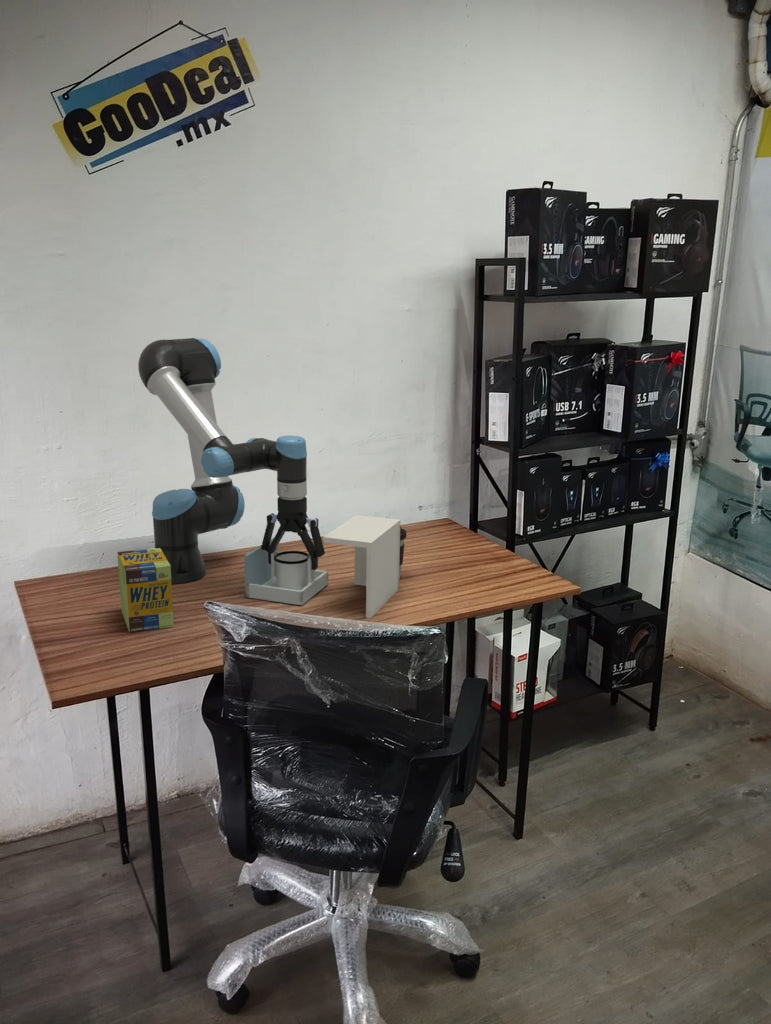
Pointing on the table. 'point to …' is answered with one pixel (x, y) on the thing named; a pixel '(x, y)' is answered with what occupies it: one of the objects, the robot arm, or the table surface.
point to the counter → (372, 556)
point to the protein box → (145, 589)
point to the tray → (265, 585)
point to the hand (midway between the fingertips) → (293, 578)
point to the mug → (292, 569)
